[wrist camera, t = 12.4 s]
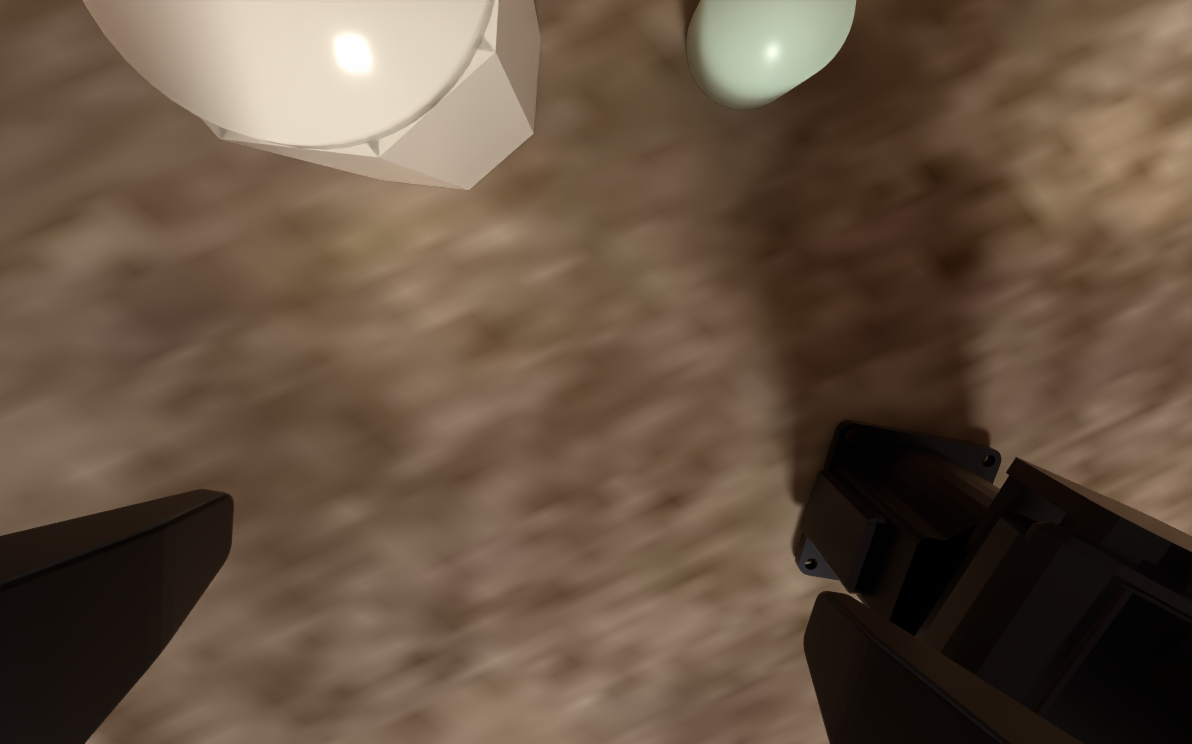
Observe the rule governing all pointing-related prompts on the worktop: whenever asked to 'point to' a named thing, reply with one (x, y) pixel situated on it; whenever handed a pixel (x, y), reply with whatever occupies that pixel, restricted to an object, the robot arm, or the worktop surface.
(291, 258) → the worktop surface
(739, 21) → the pale green rounded knob
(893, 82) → the worktop surface
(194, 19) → the tumbler
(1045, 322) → the worktop surface
